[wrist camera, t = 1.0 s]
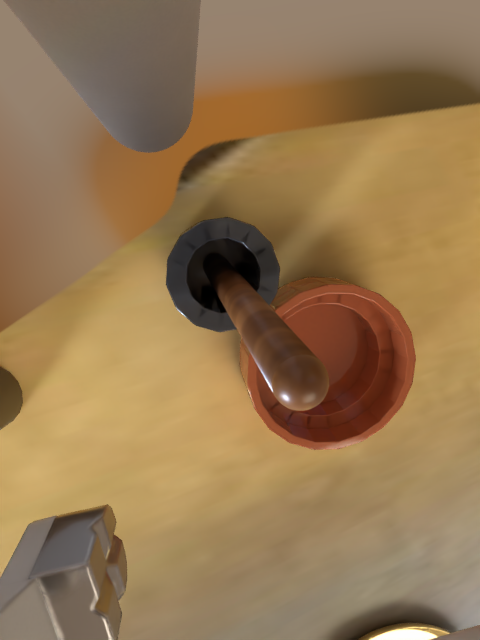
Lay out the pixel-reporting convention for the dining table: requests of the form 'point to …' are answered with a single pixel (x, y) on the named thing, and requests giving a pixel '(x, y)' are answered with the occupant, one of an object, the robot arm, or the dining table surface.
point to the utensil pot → (243, 254)
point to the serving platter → (406, 632)
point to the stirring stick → (269, 339)
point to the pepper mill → (9, 398)
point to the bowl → (339, 363)
